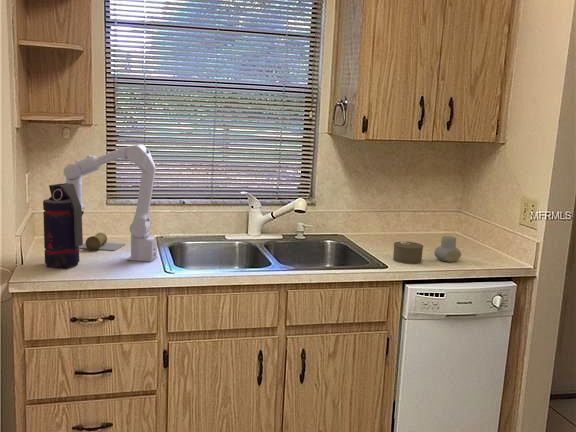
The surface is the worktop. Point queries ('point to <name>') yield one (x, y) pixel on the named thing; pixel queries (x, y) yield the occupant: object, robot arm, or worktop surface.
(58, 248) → the grenade
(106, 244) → the mat
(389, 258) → the worktop surface
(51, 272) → the worktop surface
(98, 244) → the cork
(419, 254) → the can
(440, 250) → the air freshener
